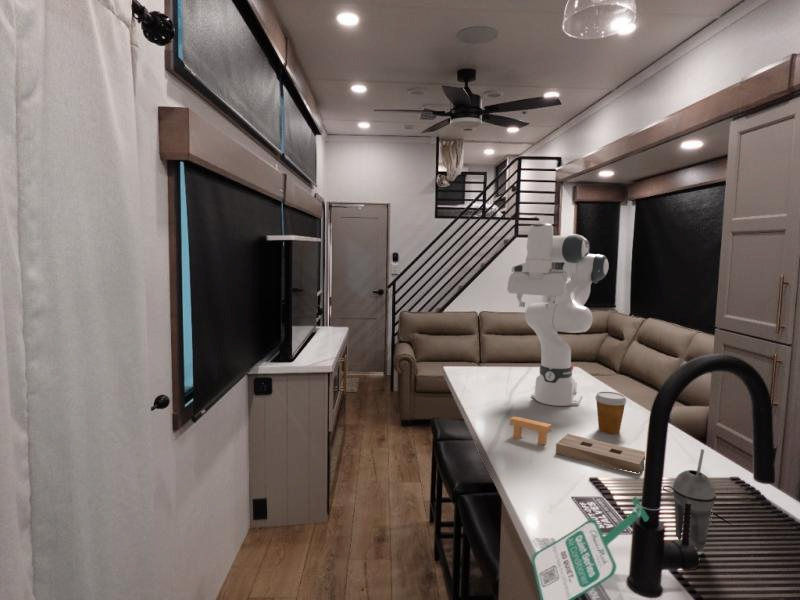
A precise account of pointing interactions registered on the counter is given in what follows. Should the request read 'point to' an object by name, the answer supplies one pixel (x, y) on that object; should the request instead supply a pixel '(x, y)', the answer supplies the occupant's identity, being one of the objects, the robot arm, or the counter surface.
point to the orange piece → (532, 425)
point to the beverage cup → (694, 503)
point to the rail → (601, 453)
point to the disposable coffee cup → (610, 411)
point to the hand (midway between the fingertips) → (534, 308)
